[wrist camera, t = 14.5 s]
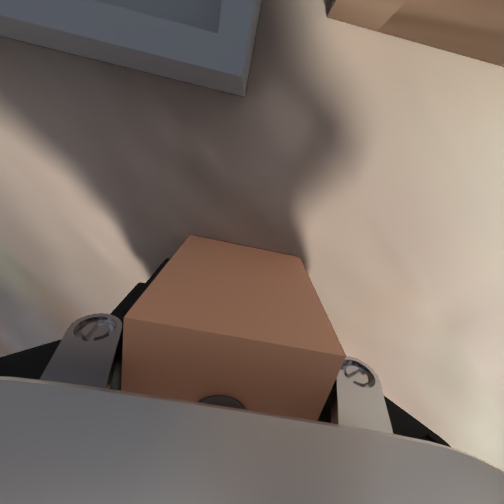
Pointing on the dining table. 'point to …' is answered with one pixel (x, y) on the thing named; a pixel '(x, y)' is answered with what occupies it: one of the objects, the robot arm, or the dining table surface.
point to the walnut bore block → (433, 23)
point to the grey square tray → (146, 35)
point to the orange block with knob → (232, 332)
